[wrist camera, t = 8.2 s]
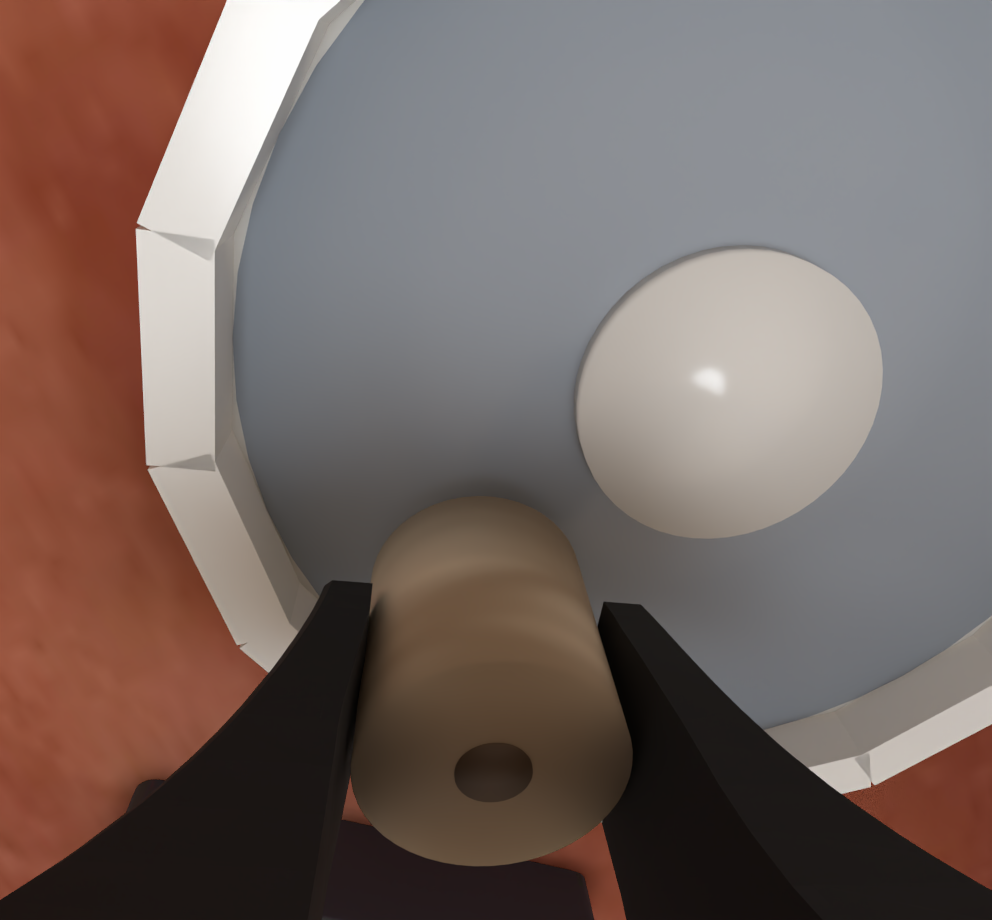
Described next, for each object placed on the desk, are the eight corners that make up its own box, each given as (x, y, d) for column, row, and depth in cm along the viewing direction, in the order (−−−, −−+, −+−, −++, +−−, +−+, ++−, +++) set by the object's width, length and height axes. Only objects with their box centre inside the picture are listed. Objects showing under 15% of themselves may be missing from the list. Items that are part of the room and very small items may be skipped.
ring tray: (1473, -135, 11) (1644, -167, 10) (965, 773, 19) (1015, 838, 18) (158, -456, 9) (100, -569, 7) (186, 732, 17) (161, 804, 15)
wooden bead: (598, 506, 13) (663, 673, 10) (559, 675, 15) (601, 873, 11) (380, 486, 13) (361, 654, 9) (363, 662, 14) (341, 865, 11)
